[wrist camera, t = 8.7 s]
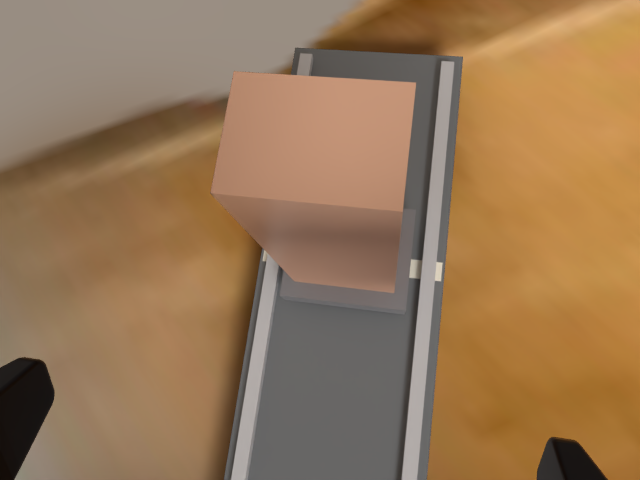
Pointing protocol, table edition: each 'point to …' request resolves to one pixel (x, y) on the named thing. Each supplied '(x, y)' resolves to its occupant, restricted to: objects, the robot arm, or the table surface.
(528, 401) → the table surface
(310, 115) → the fader
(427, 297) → the grey slider rail base
